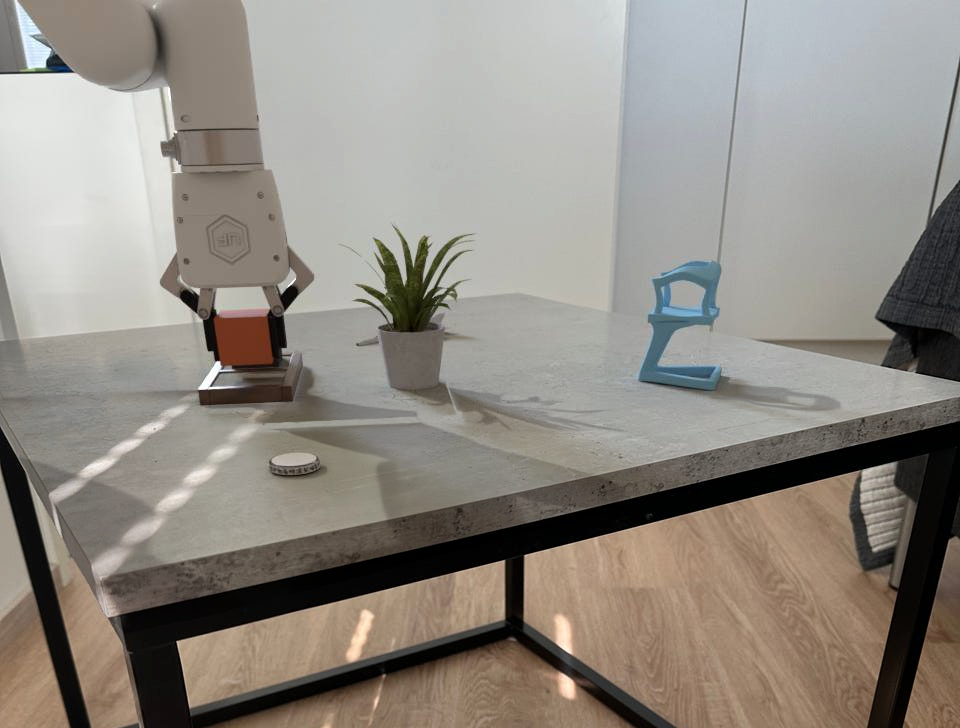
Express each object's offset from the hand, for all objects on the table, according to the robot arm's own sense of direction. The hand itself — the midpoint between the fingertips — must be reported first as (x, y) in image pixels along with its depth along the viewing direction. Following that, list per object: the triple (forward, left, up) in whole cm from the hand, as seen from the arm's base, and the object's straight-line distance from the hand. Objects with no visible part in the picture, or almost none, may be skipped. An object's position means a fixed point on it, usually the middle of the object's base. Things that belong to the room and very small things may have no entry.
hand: (248, 355), depth 93 cm
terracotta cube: (0, 0, 0) cm, 0 cm away
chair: (+45, 0, -4) cm, 45 cm away
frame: (0, +4, -4) cm, 6 cm away
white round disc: (+6, -25, -4) cm, 26 cm away
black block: (0, +8, -4) cm, 9 cm away
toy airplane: (+18, +31, -4) cm, 36 cm away
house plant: (+18, +1, -4) cm, 18 cm away
